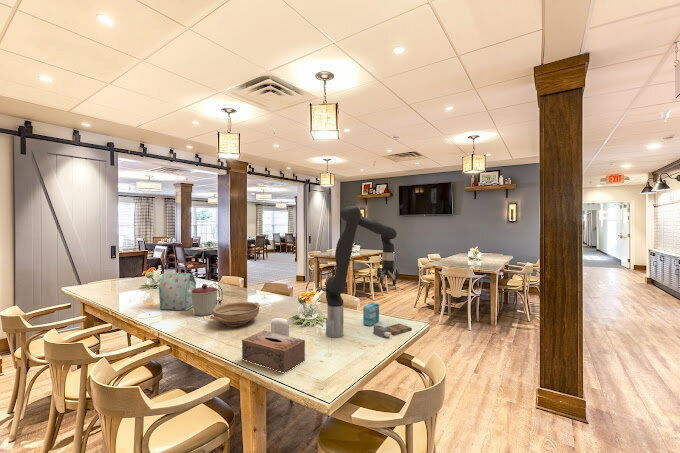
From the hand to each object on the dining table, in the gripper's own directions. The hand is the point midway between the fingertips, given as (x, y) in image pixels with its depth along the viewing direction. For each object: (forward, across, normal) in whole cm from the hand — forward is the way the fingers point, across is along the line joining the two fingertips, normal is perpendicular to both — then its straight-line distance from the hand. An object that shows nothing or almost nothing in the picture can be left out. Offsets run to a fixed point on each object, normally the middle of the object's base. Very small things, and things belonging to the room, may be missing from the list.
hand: (387, 284), depth 199 cm
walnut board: (+25, +10, -9) cm, 28 cm away
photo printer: (+27, -39, -57) cm, 74 cm away
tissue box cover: (+27, -25, -77) cm, 85 cm away
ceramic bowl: (+27, -83, -49) cm, 100 cm away
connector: (+25, +5, -20) cm, 33 cm away
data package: (+25, -9, -4) cm, 27 cm away
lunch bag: (+28, -149, -48) cm, 159 cm away
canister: (+27, -119, -47) cm, 131 cm away
